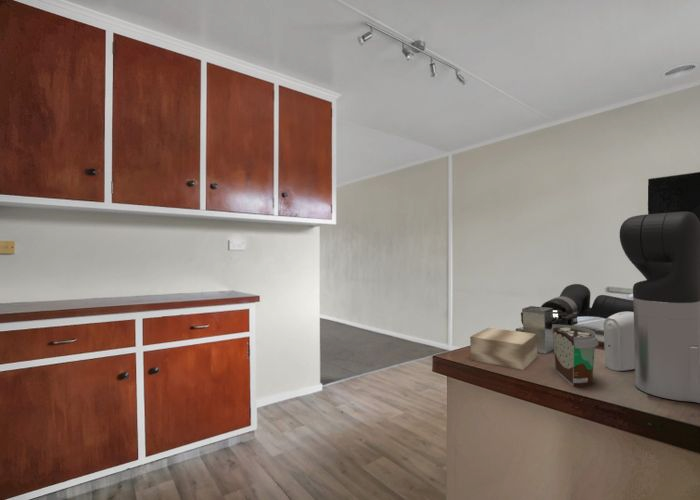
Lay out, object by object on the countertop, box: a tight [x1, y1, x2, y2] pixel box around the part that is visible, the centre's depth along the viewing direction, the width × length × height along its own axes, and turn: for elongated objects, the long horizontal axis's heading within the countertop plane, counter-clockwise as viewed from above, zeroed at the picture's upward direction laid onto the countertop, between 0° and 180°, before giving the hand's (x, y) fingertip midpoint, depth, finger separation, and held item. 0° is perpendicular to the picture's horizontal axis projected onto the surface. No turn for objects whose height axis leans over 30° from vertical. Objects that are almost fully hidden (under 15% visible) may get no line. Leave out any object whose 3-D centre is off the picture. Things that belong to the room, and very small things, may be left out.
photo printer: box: [603, 312, 635, 372], centre depth 78 cm, size 10×4×12 cm, turn 105°
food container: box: [552, 324, 599, 388], centre depth 72 cm, size 12×6×10 cm, turn 168°
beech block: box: [469, 327, 538, 371], centre depth 86 cm, size 12×12×6 cm
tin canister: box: [521, 305, 554, 355], centre depth 92 cm, size 6×6×11 cm
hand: (535, 323), depth 91 cm, fingers closed on tin canister, 5 cm apart
